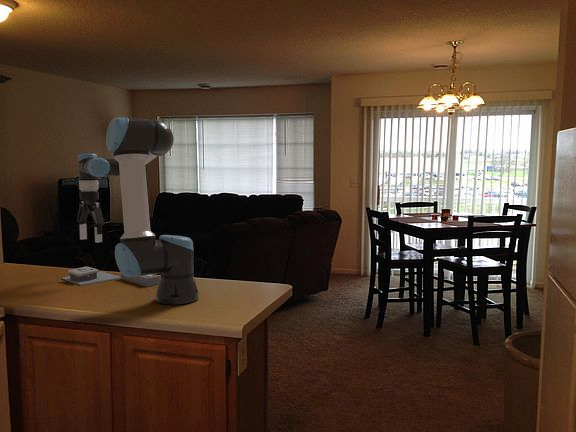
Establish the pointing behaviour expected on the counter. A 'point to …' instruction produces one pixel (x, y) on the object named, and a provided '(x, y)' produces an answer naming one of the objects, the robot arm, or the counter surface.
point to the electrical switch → (83, 274)
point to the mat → (100, 278)
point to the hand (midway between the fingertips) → (90, 240)
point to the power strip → (143, 280)
